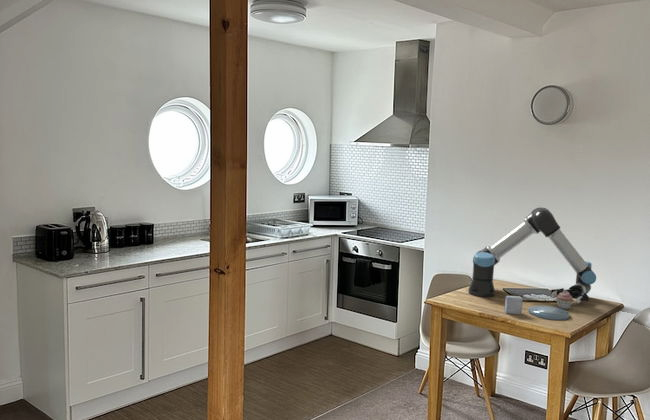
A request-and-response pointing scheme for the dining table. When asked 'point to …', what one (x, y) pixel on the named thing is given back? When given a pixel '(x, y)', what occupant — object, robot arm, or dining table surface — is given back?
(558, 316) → the dish
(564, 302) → the cupcake
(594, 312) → the dining table surface
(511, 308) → the medicine box
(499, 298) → the dining table surface
